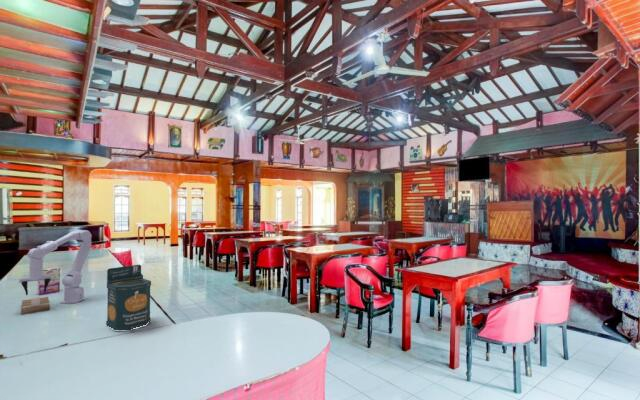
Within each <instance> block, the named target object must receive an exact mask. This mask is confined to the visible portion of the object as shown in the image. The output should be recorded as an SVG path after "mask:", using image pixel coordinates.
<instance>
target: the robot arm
mask: <svg viewBox="0 0 640 400" xmlns="http://www.w3.org/2000/svg"><path fill="white" fill-rule="evenodd" d="M92 236H93V235H92V234H91V232H90V231H89V230H87V229H85V230H84V229H83V230H82V229H75V230H74V231H70V232H69V233H67V234H65V235H63V236H62V237H60V238H58V239H56V240H55V241H54V240H47V241H45V243H43V244H41V245H37V246H36V248H35V247H34V248H31V249H29V251H28V253H26V255H27V257H28V258H29V276H28V277H23V278H18V283H19V284H21V286H22V287H23V290H24V292H25V295H26V296H28V294H29V292H28V291H29V290H28V283H29V282H36V281H37V282H38V280H44V293H46V288H47V286H48V284H49V282H50V279H52V278H53V276H52V275H50V276H43V269H44V268H43V267H44V258H45V256H46V255H48V254H50V253H51V252H53V251H55V250H57V249H58V247H60V245H63V244H65V243H68V242H70V241H72V240H73V241H74V240H75V241H76V242H77V243H78V245H79V246H80V247H79V249H78V251H77V254H76V256H75V258H74V261H73V264H72V266H71V268H70V270H69V271H68V272H67V273H66V274H65V275H64V277H63V278H62V279H61V283H62V285H64V286H63V288H64V289H63V292H64V294H63V296H64V297H63V298H64V299H63V300H62V301H60V304H77V303H79V302H82V301H84V300H85V298H84V297H85V290H84V287H82V286H80V285H81V283H82V276H83V274H82V272H81V271H82V270H83V267H84V264H85V262H86V259H87V257H88V254H89V253H90V250H91V248H92V238H93V237H92Z"/></svg>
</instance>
